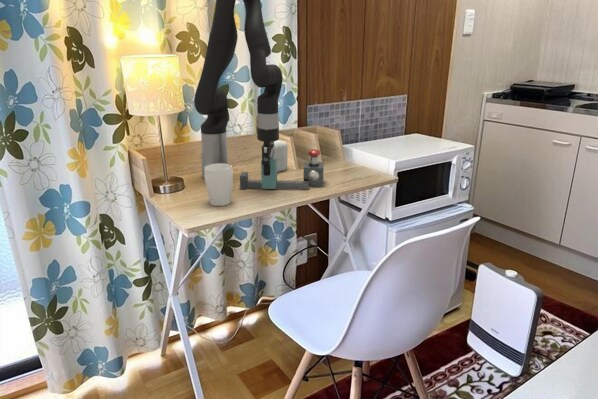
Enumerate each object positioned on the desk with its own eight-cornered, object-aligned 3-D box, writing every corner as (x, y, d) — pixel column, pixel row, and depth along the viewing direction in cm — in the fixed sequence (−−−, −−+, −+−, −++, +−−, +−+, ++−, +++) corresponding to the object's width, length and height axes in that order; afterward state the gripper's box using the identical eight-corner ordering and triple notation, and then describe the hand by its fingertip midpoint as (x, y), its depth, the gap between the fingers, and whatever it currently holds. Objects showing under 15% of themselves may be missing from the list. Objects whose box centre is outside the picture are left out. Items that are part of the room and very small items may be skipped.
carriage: (261, 188, 162) (261, 161, 159) (263, 184, 166) (262, 158, 163) (275, 189, 162) (275, 161, 158) (277, 185, 166) (276, 158, 162)
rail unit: (240, 189, 162) (239, 170, 160) (246, 178, 175) (246, 160, 172) (322, 191, 161) (323, 172, 158) (323, 180, 173) (323, 162, 170)
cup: (209, 209, 144) (207, 172, 140) (203, 200, 152) (201, 165, 148) (237, 205, 148) (236, 169, 144) (230, 196, 156) (228, 162, 151)
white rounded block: (282, 167, 189) (281, 137, 184) (289, 169, 186) (289, 139, 181) (262, 172, 182) (261, 141, 178) (269, 174, 179) (269, 143, 175)
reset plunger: (307, 171, 166) (307, 152, 163) (308, 168, 170) (308, 149, 167) (319, 172, 165) (320, 152, 163) (320, 168, 169) (320, 149, 167)
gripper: (260, 121, 163) (260, 165, 169) (253, 129, 150) (254, 177, 156) (281, 122, 163) (281, 166, 168) (276, 130, 149) (276, 178, 155)
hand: (268, 171), depth 162 cm, fingers open, 8 cm apart
